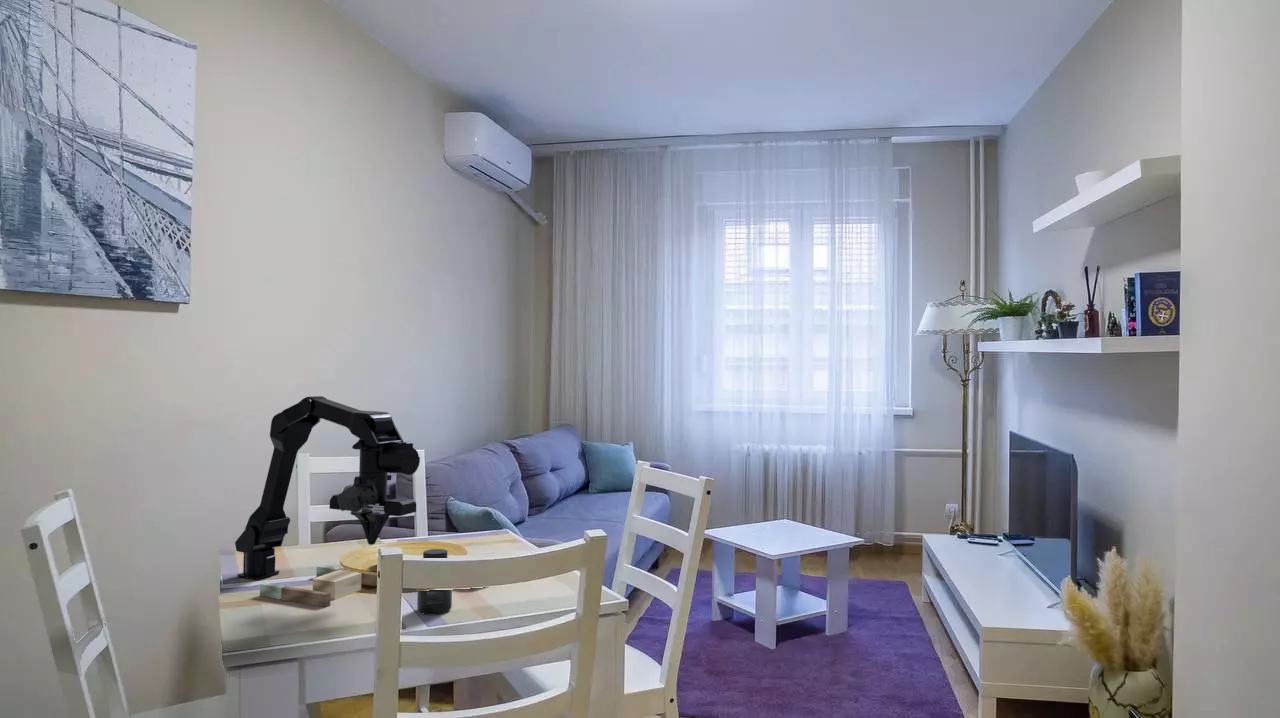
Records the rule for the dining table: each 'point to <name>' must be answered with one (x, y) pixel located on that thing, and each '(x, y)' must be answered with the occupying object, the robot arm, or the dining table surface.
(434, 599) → the supplement bottle
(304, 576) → the dining table surface
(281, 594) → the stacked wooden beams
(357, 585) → the light wood block
